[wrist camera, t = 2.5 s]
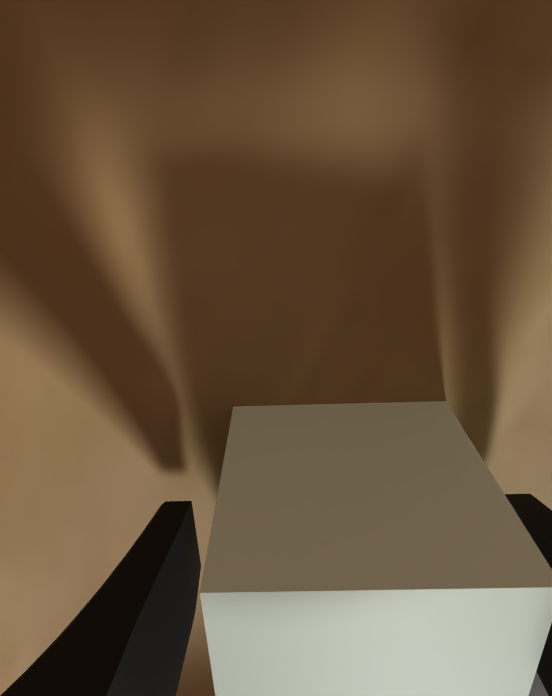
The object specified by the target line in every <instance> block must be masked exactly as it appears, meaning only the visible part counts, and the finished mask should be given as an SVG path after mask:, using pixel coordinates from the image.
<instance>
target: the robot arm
mask: <svg viewBox="0 0 552 696" xmlns="http://www.w3.org/2000/svg"><path fill="white" fill-rule="evenodd" d="M505 496H506V497H507V499H508V501H509V502H510V504H511V505H512V507H513V509H514V510H515V512H516V513H517V515H518V517H519V518H520V520H521V521H522V523H523V524H524V526H525V528H526V529H527V531H528V532H529V534H530V536H531V537H532V539H533V540H534V542H535V544H536V545H537V547H538V548H539V550H540V552H541V553H542V555H543V556H544V558H545V559H546V561H547V563H548V564H549V566H550V567H551V569H552V510H550V509H549V508H548V507H547V506H545V505H544V504H543V503H541V502H540V501H539V500H538V499H536V498H535V497H534V496H532V495H531V494H505ZM200 569H201V563H200V556H199V549H198V542H197V536H196V529H195V522H194V515H193V508H192V501H170V502H164V503H163V504H162V505H161V506H160V508H159V509H158V511H157V512H156V513H155V515H154V516H153V518H152V519H151V521H150V522H149V524H148V525H147V526H146V528H145V529H144V531H143V532H142V534H141V535H140V536H139V538H138V539H137V540H136V542H135V543H134V545H133V546H132V547H131V549H130V550H129V551H128V553H127V554H126V555H125V557H124V558H123V559H122V561H121V562H120V563H119V565H118V566H117V567H116V568H115V570H114V571H113V572H112V574H111V575H110V576H109V578H108V579H107V580H106V581H105V583H104V584H103V585H102V586H101V588H100V589H99V590H98V591H97V592H96V594H95V595H94V596H93V597H92V598H91V600H90V601H89V602H88V603H87V604H86V605H85V607H84V608H83V609H82V610H81V611H80V613H79V614H78V615H77V616H76V617H75V618H74V620H73V621H72V622H71V623H70V624H69V625H68V627H67V628H66V629H65V630H64V631H63V632H62V633H61V634H60V635H59V636H58V638H57V639H56V640H55V641H54V642H53V643H52V644H51V645H50V646H49V647H48V648H47V649H46V650H45V652H44V653H43V654H42V655H41V656H40V657H39V658H38V659H37V660H36V661H35V662H34V663H33V664H32V665H31V666H30V667H29V668H28V669H27V670H26V671H25V672H24V673H23V674H22V675H21V676H20V677H19V678H18V679H17V680H16V681H15V682H14V683H13V684H12V685H11V686H10V687H9V688H8V689H7V690H6V691H5V692H4V693H3V694H2V695H1V696H176V692H177V688H178V683H179V679H180V675H181V671H182V666H183V662H184V658H185V654H186V649H187V645H188V641H189V637H190V632H191V628H192V624H193V619H194V615H195V609H196V601H197V594H198V586H199V578H200ZM537 673H538V675H539V677H540V679H541V681H542V683H543V685H544V687H545V690H546V692H547V694H548V696H552V623H551V626H550V630H549V633H548V636H547V639H546V642H545V645H544V648H543V652H542V655H541V658H540V661H539V664H538V667H537Z"/></svg>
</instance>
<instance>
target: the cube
mask: <svg viewBox="0 0 552 696" xmlns="http://www.w3.org/2000/svg"><path fill="white" fill-rule="evenodd" d="M200 597H201V604H202V610H203V617H204V624H205V630H206V637H207V644H208V650H209V657H210V664H211V670H212V677H213V683H214V690H215V696H529V693H530V689H531V686H532V683H533V680H534V677H535V674H536V671H537V667H538V664H539V661H540V658H541V655H542V652H543V648H544V645H545V642H546V639H547V636H548V633H549V630H550V626H551V623H552V569H551V567H550V566H549V564H548V563H547V561H546V559H545V558H544V556H543V555H542V553H541V552H540V550H539V548H538V547H537V545H536V544H535V542H534V540H533V539H532V537H531V536H530V534H529V532H528V531H527V529H526V528H525V526H524V524H523V523H522V521H521V520H520V518H519V517H518V515H517V513H516V512H515V510H514V509H513V507H512V505H511V504H510V502H509V501H508V499H507V497H506V496H505V494H504V493H503V491H502V489H501V488H500V486H499V485H498V483H497V482H496V480H495V478H494V477H493V475H492V474H491V472H490V470H489V469H488V467H487V466H486V464H485V462H484V461H483V459H482V458H481V456H480V454H479V453H478V451H477V450H476V448H475V446H474V445H473V443H472V442H471V440H470V439H469V437H468V435H467V434H466V432H465V431H464V429H463V427H462V426H461V424H460V423H459V421H458V419H457V418H456V416H455V415H454V413H453V411H452V410H451V408H450V407H449V405H448V404H447V402H446V401H430V402H391V403H351V404H311V405H271V406H233V410H232V416H231V422H230V427H229V433H228V438H227V444H226V450H225V455H224V461H223V466H222V472H221V478H220V483H219V489H218V494H217V500H216V506H215V511H214V517H213V522H212V528H211V534H210V539H209V545H208V550H207V556H206V562H205V567H204V573H203V578H202V584H201V590H200Z"/></svg>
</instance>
